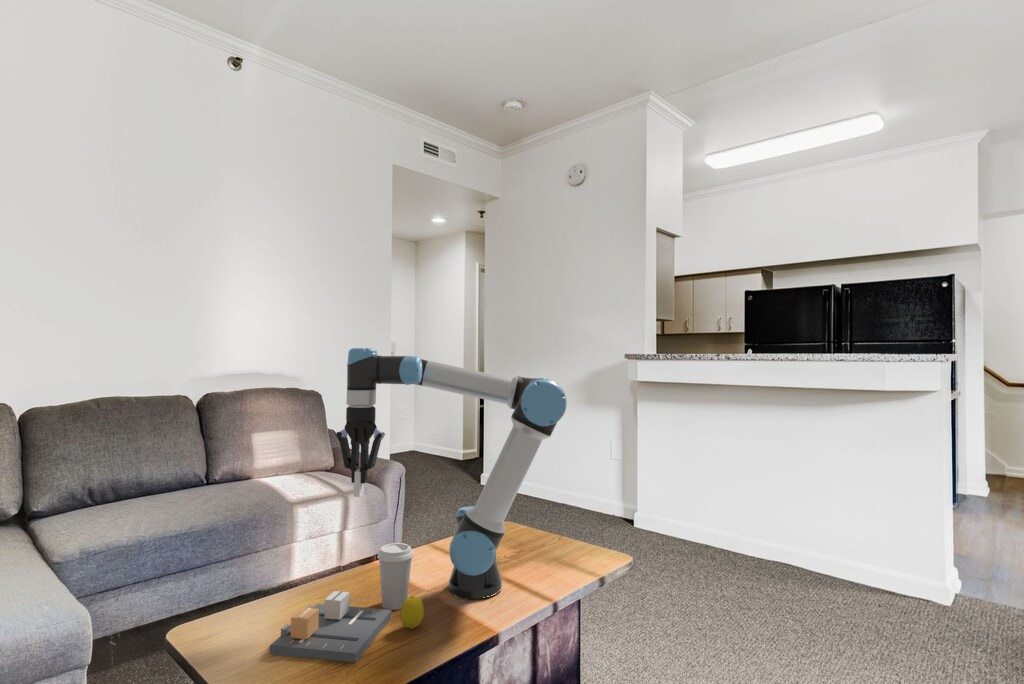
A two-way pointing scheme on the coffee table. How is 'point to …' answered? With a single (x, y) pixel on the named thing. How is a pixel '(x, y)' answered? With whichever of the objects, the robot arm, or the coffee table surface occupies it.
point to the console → (335, 635)
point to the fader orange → (304, 623)
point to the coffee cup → (394, 574)
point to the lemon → (412, 612)
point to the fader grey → (336, 605)
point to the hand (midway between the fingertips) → (358, 495)
